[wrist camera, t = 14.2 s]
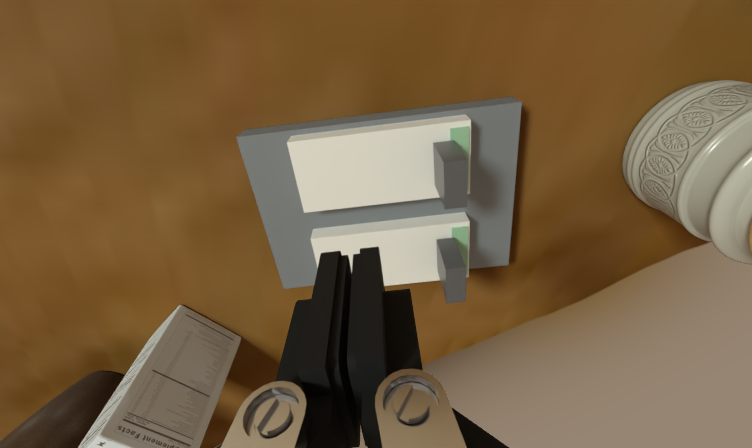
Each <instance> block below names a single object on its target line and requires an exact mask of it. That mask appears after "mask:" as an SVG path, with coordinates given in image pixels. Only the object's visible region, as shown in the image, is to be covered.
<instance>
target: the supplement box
mask: <svg viewBox="0 0 752 448" xmlns="http://www.w3.org/2000/svg"><path fill="white" fill-rule="evenodd" d="M240 342H241V337H240V336H238V335H236V334H234V333H232V332H231V331H229V330H227V329H225V328H223V327H221V326H220V325H218V324H216V323H214V322H212V321H211V320H209V319H207V318H205V317H203V316H201V315H199V314H198V313H196V312H194V311H192V310H190V309H188V308H187V307H185V306H183V305H180V306H178V307H177V309H176V310H175V311H174V312H173V313H172V314H171V315H170V316H169V317H168V318H167V319H166V320H165V322H164V323H163V324H162V325H161V326H160V327H159V328H158V329H157V331H156V332H155V333H154V334H153V335H152V336H151V338H150V339H149V340H148V342H147V343H146V345H145V346H144V348H143V349H142V351H141V352H140V354H139V355H138V357H137V358H136V360H135V361H134V363H133V364H132V366H131V367H130V369H129V370H128V372H127V373H126V375H125V376H124V378H123V380H122V381H121V383H120V384H119V386H118V387H117V389H116V390H115V392H114V393H113V395H112V396H111V398H110V399H109V401H108V402H107V404H106V405H105V407H104V409H103V410H102V412H101V413H100V415H99V416H98V418H97V419H96V421H95V422H94V424H93V425H92V427H91V428H90V430H89V431H88V433H87V434H86V436H85V438H84V439H83V441H82V442H81V444H80V445H79V447H78V448H200V446H201V443H202V440H203V438H204V435H205V433H206V430H207V428H208V425H209V422H210V420H211V417H212V415H213V412H214V410H215V407H216V405H217V402H218V400H219V397H220V394H221V391H222V388H223V386H224V383H225V381H226V378H227V375H228V373H229V370H230V368H231V365H232V363H233V360H234V357H235V355H236V352H237V350H238V347H239V344H240Z"/></svg>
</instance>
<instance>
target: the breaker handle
mask: <svg viewBox="0 0 752 448" xmlns="http://www.w3.org/2000/svg"><path fill="white" fill-rule="evenodd" d="M436 244H437V269H438V274H439V278H440V282H441V285H442V289H443V292H444V296H445V299H446V303H455V302H465V301H466V266H465V263H464V261H463V258H462V256H461V253H460V251H459V248H458V246H457V243H456V241H455V238H445V239H436Z"/></svg>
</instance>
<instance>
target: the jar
mask: <svg viewBox="0 0 752 448" xmlns="http://www.w3.org/2000/svg"><path fill="white" fill-rule="evenodd" d="M622 169H623V175H624V178H625V181H626V183H627V185H628V186H629V188H630V189H631V190H632V191H633V192H634V194H635V195H636V196H637V197H638V198H639V199H640V200H642V201H643V202H645V203H646V204H647V205H649V206H651V207H653V208H655V209H658V210H660V211H662V212H663V213H665V214H666V215H668V216H669V217H671V218H672V219H674V220H675V221H677V222H679V223H680V224H682V225H683V226H684V227H685V228H686V230H688V231H689V232H690V233H691V234H692V235H694V236H696V237H698V238H700V239H702V240H705V241H710V242H713V244H714V245H715V247H716V248H717V249H718V250H719V251H720V252H721V253H722V254H724V255H725V256H726V257H728V258H730V259H732V260H734V261H737V262H741V263H746V264H752V84H751V83H747V82H740V81H733V80H721V81H709V82H702V83H697V84H694V85H690V86H688V87H685V88H683V89H680V90H678V91H676V92H674V93H673V94H671V95H669V96H668V97H666V98H665V99H663V100H662V101H660V102H659V103H658V104H657V105H655V106H654V107H653V108H652V109H651V110H650V111H649V112H648V113H647V114H646V115H645V116H644V117H643V118H642V119H641V121H640V122H639V123H638V125H637V126H636V128H635V129H634V131H633V132H632V134H631V136H630V138H629V140H628V142H627V144H626V147H625V151H624V155H623V161H622Z"/></svg>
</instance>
